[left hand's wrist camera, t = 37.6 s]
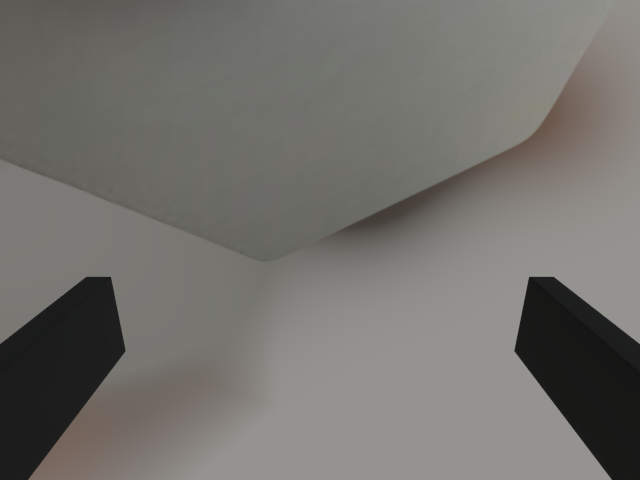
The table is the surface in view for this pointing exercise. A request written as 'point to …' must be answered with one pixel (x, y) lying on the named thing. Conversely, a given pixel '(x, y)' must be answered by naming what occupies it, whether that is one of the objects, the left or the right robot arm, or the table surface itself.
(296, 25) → the table surface
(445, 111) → the table surface
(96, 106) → the table surface
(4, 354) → the left robot arm
